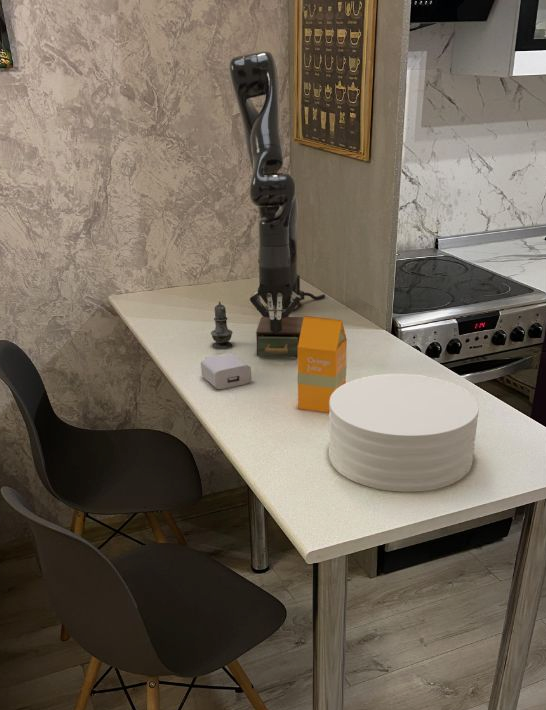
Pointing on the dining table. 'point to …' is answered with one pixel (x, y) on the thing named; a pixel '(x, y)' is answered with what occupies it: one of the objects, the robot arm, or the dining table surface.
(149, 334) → the dining table surface
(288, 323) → the cabinet
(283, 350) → the drawer
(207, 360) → the charger
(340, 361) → the orange juice
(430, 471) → the plate stack
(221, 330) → the salt shaker
